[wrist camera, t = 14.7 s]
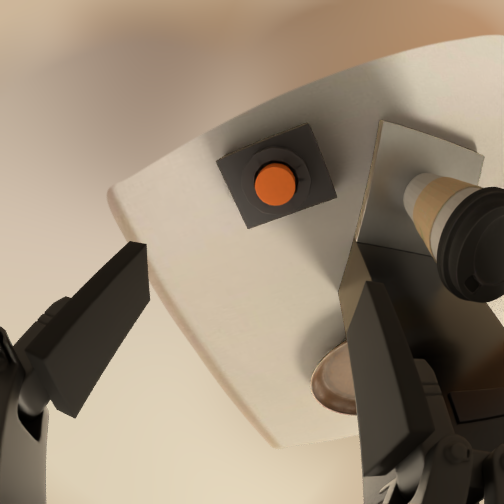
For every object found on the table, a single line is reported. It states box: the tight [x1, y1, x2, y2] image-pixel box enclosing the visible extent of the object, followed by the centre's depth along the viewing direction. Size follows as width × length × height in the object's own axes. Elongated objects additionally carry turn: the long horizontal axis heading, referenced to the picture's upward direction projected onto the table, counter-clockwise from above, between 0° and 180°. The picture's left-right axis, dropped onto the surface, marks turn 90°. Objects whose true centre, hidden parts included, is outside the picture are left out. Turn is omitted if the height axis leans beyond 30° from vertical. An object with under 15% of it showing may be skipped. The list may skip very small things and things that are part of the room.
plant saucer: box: [310, 341, 357, 416], centre depth 42 cm, size 21×21×3 cm
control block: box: [216, 123, 337, 229], centre depth 30 cm, size 10×8×5 cm
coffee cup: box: [403, 173, 504, 303], centre depth 23 cm, size 9×9×15 cm
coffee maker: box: [338, 120, 504, 504], centre depth 20 cm, size 22×14×28 cm, turn 173°
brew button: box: [255, 163, 295, 206], centre depth 27 cm, size 4×4×2 cm
